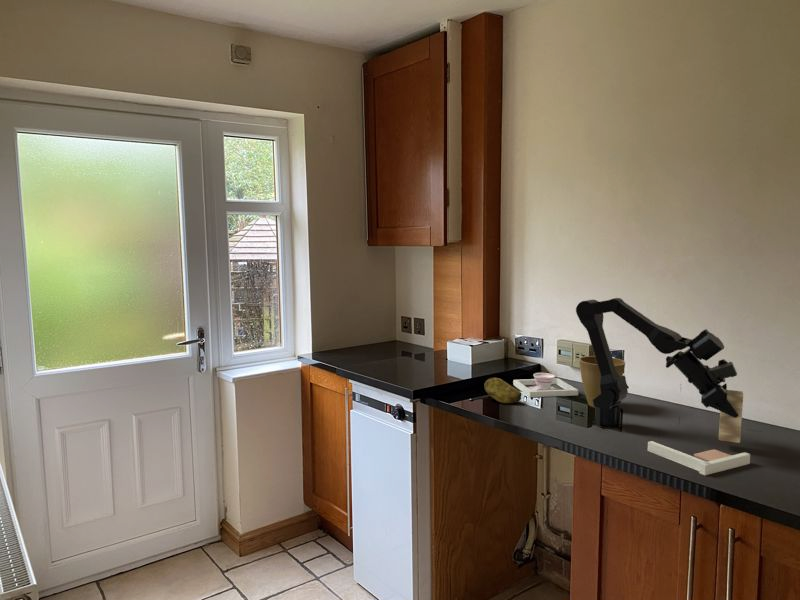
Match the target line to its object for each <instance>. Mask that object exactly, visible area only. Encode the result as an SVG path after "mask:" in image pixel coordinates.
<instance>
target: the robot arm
mask: <svg viewBox="0 0 800 600" xmlns="http://www.w3.org/2000/svg"><path fill="white" fill-rule="evenodd" d="M605 313H606V314H607V313H614V314H615V315H616V316H618V317H619V318H621V319H622V320H623V321H625V323H627V324H629V325H630V326H632V327H633V328H635V329H636V330H637V331H639V332H640V333H642V335H644V336H645V337H646V338H647V340H649V342H650V344H651V345H652V346H654V348H655V349H656V350H657V351H658V352H659V353H661V354H663V355H667V356H666V358H665V362H666V363H665V368H666V369H668V368H671V366H673V365H674V366H675V368H676V369H678V371H679V372H680V373H681V374H682V375H683V376H684V377H685V378H686V379H687V382H688V383H689V384H692V386H694V387H695V388H696V390H698V393H699V394H700V395H701V398H700V399H701V400H700V403H701V404H702V405H703V406H704V407H705V408H712V409H715V410H716V411H719V412H720V411H721V412H723V413H726V414H728V415H730V416H732V417H734V418H736V417H738V414H737V412H736V411H735V409H734V408H733V407H732V405H731V404H730V402H729V401H728V399H727V391H725V390H728V389H727V387H728V384H727V383H725V382H726V379H727V378H734V377H736V376H738V372H737V369H736V367H735V366H734V363H733V362H732V361H728V360H726V359H724V358H723V359H719V360H718V363H717V365H714V367H710V366H709V365H706V364H704V363H703V362H702V361H701V360H704V361H708V360H710V359H711V358H713V357H714V356H715V355H717V354H718V353H720V352H721V351H723V350H724V349H725V345H724V342H722V340H721V339H720V338H719V337H718V336H716V335H714V333H711V332H710V331H709V330H708V328H707V329H703V330H702V331H701V332H700V333H699V334H698V335H696V336H695V337H694V338H693V339H692V338H688V337H684V336H682V335H681V334H680V333H678V332H676V331H675V330H672V329H670V328H668V327H665V326H662V325H659V324H658V323H655V322H654V321H653V320H651V319H650V318H648V317H647V316H645V315H644V314H642V313H641V312H640V311H638V310H637V309H635V308H634V307H632V306H631V305H630V304H628V303H627V302H625V301H624V300H623V299H622V298H621V297H615V298H611V299H608V300H602V301H598V300H597V299H587V300H582V301H580V302H578V304H577V305H576V308H575V314H576V315H577V318H578V320H579V321H580V323H581V324H582V326H583V327H584V329H586V331H587V335H588V337H589V340H590V343H591V347H592V349H593V350H592V351H593V353H594V356H595V358H596V361H597V364H598V368H599V371H600V375H601V377H600V392H601V394H600V395H599V396H597V397H596V398H595V399H594V400H593V403H594V406H595V408H594V419H592V420H591V421H592V424H594V425H596V426H597V427H599V428H601V429H614V428H616V429H617V428H622V425H621V424H620V423H621V410H620V404H621V402H622V401H623V400H624V399H626V398H627V396H628V392H629V391H628V389H629V388H630V387H629V385H628V383H627V380H626V375H624V374H623V376H621V377H620V375H619V374H618V373H617V372H616V369H615V366H614V363H613V359H612V358H613V356H612V354H611V349H610V346H609V344H608V340H607V337H606V334H605V330H604V325H603V324H604V314H605ZM686 348H688V349H686ZM684 349H686V350H685V351H683V350H684ZM675 352H676V353H675ZM673 353H675V354H673ZM668 354H673V355H672V356H670V355H668ZM721 383H724V384H723V385H721Z"/></svg>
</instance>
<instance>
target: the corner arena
mask: <svg viewBox="0 0 800 600" xmlns="http://www.w3.org/2000/svg"><path fill="white" fill-rule="evenodd" d="M647 452H650V453H652V454H655V455H656V456H659V457H662V458H665V459H667V460H670V461H673V462H675V463H678V464H680V465H682V466H685V467H687V468H690V469H692V470H695V471H697V472H698V473H699V474H700V475H703V476H708V475H713V474H715V473H720V472H724V471H726V470H731V469H734V468H735V469H736V468H739V467H742V466H746V465H750V463H751V453H748V452H746V451H745V452H740V453H736V454H733V455H732V454H729V453H725V452H723V451H720V450H717V449H715V448H714V449H710V450H709V449H708V450H705V451H701V452H698V453H693V455H690V454H688V453H684V452H682V451H680V450H676V449H675V448H672V447H669V446H666V445H663V444H662V443H658V442H656V441H653V440H651V441H647Z"/></svg>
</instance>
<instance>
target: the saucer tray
mask: <svg viewBox="0 0 800 600" xmlns="http://www.w3.org/2000/svg"><path fill="white" fill-rule="evenodd" d="M512 383H513V384H512V385H513V387H515V388H516V389H517V390H519V391H520V392H522V393H524V394H525V395H527V396H528V397H529V398H543V397H544V398H546V397H567V396H568V397H570V396H579V389H578V388H575V387H574V386H572V385H570V384H569V383H567V382H566V381H564V380H563V379H560V378H558V377H557V378H556V377H555V378H554V379H553V381H552V383H551V385H558V386H559V387H561V388H562V389H559V390H544V391H539V390H537V391H531V390H530V389H529V387H527V386H537V383H536V381H535V378H531V379H529V378H528V379H513V381H512Z"/></svg>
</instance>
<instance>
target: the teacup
mask: <svg viewBox="0 0 800 600" xmlns="http://www.w3.org/2000/svg"><path fill="white" fill-rule="evenodd" d="M532 376H533V379H535V381H536V383H537V385H531V386H528V388H529V389H530V390H531V391H544V390H560V389H559V388H556V387H554V386H552V384H551V383H552V381H553V379H554V378H556V375H555V374H553V373H546V372H535V373H533V375H532Z"/></svg>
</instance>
